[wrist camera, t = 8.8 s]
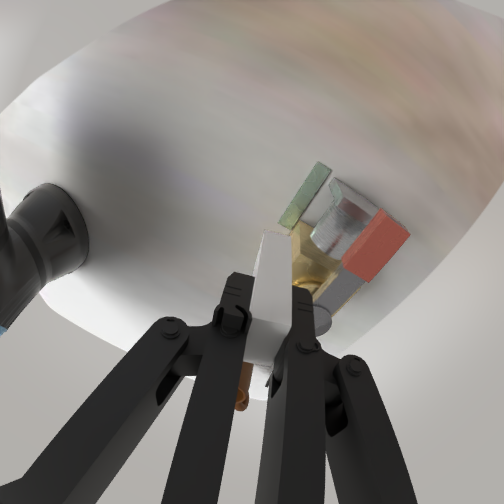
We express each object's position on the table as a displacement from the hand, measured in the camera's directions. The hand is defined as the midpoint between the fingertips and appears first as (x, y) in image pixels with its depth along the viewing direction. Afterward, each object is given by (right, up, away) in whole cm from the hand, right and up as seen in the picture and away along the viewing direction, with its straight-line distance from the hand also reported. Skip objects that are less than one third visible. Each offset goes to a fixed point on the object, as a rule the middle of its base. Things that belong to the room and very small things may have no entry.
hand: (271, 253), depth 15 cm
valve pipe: (+5, -1, +16) cm, 17 cm away
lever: (+6, -2, +6) cm, 9 cm away
